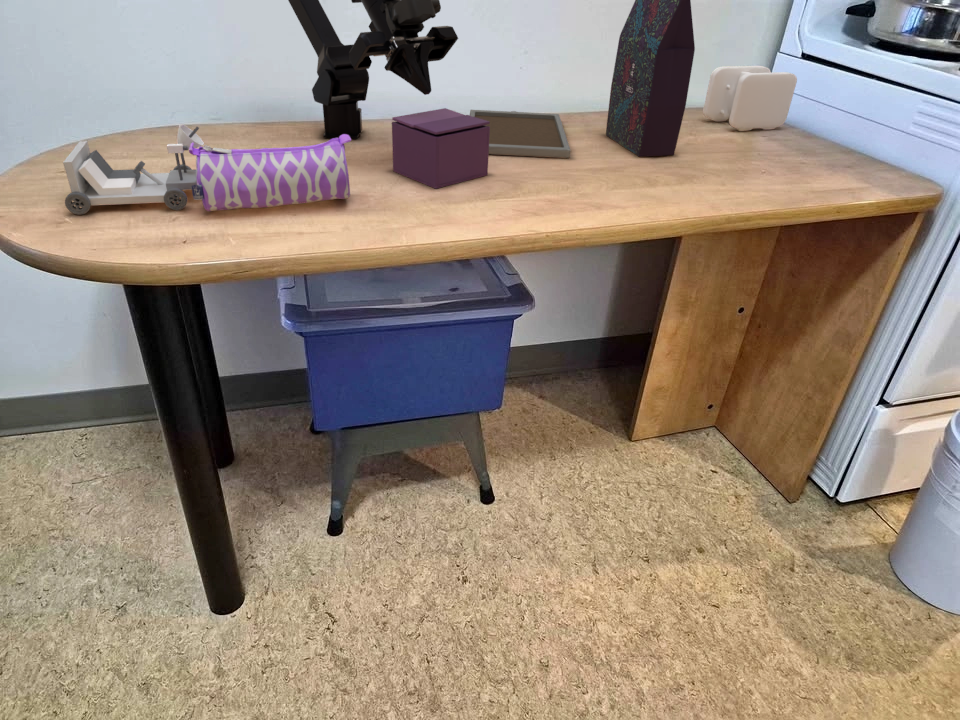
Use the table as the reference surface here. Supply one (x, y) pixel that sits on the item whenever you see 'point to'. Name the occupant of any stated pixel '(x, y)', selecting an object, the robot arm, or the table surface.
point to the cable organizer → (749, 96)
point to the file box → (442, 150)
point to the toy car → (128, 178)
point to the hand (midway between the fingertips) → (428, 92)
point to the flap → (426, 117)
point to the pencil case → (270, 175)
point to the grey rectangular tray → (525, 133)
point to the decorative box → (651, 77)
